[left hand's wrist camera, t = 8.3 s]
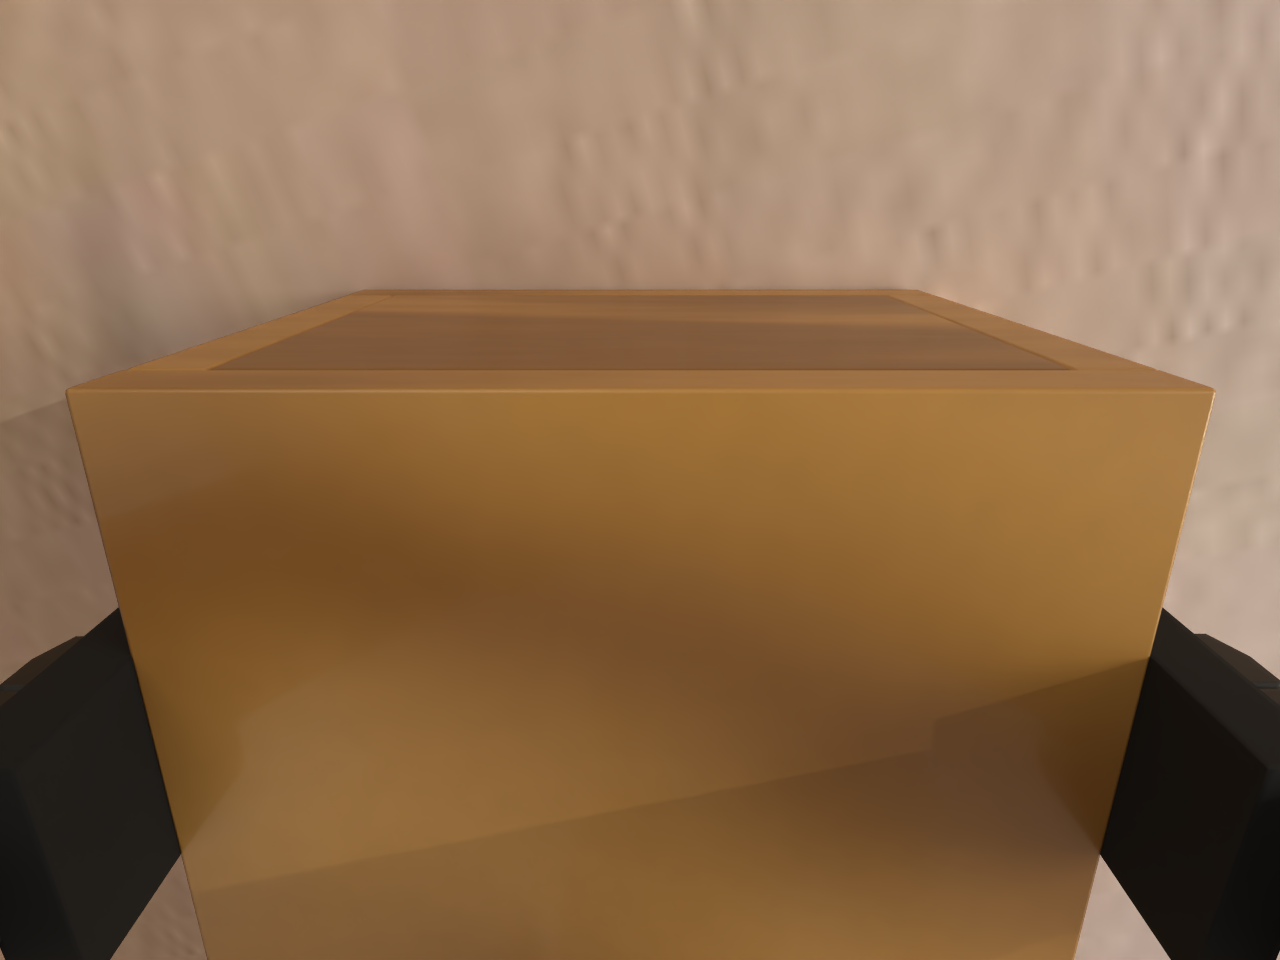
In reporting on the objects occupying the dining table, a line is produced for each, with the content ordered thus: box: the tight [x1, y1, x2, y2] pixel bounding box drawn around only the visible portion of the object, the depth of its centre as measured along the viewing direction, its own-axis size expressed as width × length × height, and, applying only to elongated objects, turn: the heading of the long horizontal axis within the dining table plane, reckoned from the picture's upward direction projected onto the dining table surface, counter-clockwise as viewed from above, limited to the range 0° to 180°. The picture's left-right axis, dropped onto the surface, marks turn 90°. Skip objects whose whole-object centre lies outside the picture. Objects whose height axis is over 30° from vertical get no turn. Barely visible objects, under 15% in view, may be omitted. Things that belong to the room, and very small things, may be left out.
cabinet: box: [66, 290, 1216, 960], centre depth 15 cm, size 22×11×8 cm, turn 0°
